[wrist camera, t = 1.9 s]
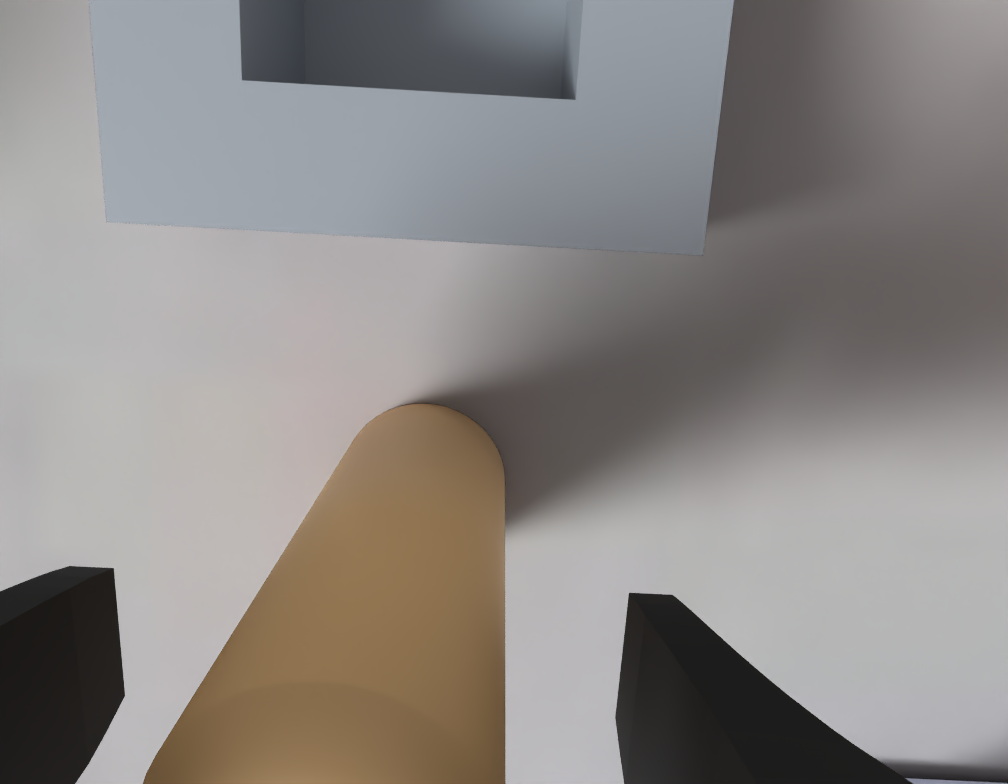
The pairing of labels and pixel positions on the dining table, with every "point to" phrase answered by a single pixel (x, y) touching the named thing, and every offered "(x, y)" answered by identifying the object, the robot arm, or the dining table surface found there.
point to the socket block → (415, 118)
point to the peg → (369, 628)
